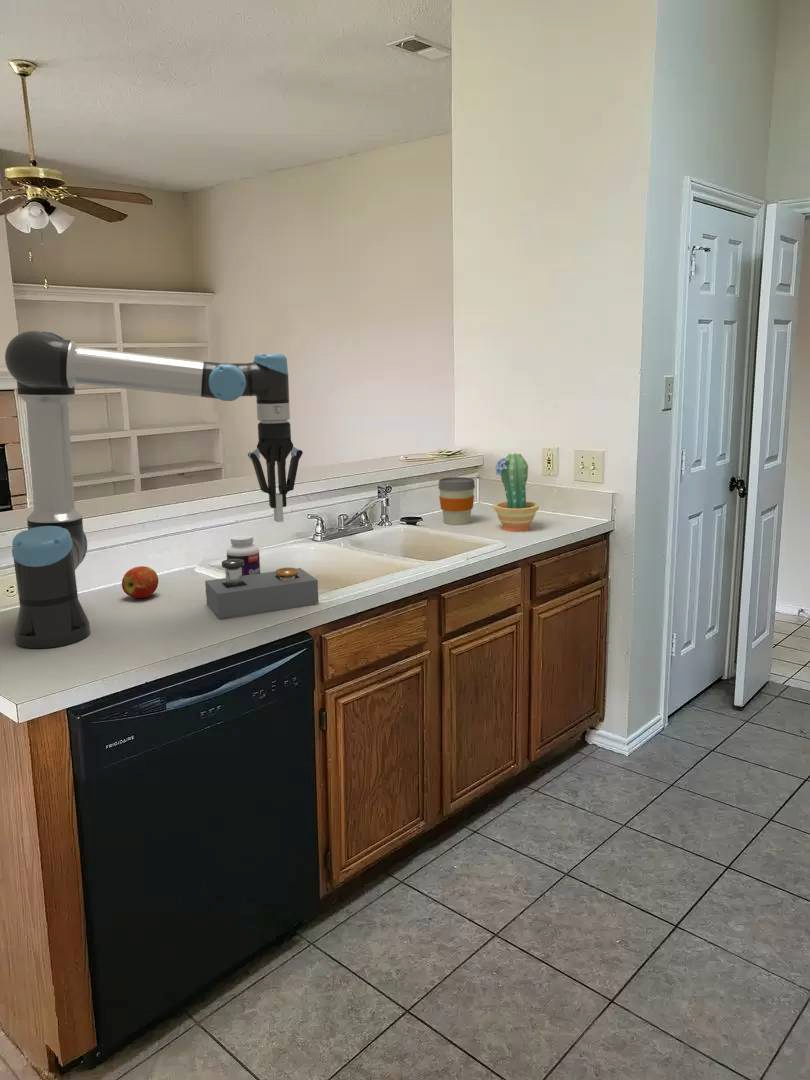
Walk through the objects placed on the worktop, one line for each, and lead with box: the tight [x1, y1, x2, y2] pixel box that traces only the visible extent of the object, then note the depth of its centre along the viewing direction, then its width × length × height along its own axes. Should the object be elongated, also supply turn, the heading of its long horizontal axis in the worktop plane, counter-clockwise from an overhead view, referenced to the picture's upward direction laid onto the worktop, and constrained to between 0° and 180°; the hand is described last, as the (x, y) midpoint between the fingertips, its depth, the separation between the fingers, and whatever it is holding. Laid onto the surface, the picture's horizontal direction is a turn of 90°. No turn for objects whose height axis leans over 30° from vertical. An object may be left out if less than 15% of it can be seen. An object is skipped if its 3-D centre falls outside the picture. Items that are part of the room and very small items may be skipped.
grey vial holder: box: [204, 567, 320, 620], centre depth 203 cm, size 24×13×6 cm, turn 115°
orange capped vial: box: [275, 567, 298, 581], centre depth 205 cm, size 5×5×8 cm
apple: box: [121, 565, 159, 599], centre depth 211 cm, size 8×8×8 cm
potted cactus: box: [493, 453, 540, 532], centre depth 279 cm, size 15×15×25 cm
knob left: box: [221, 559, 244, 588], centre depth 199 cm, size 5×5×8 cm
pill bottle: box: [226, 534, 261, 576], centre depth 212 cm, size 8×8×14 cm
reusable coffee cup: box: [438, 476, 476, 526], centre depth 292 cm, size 13×13×15 cm
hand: (278, 520), depth 201 cm, fingers closed
